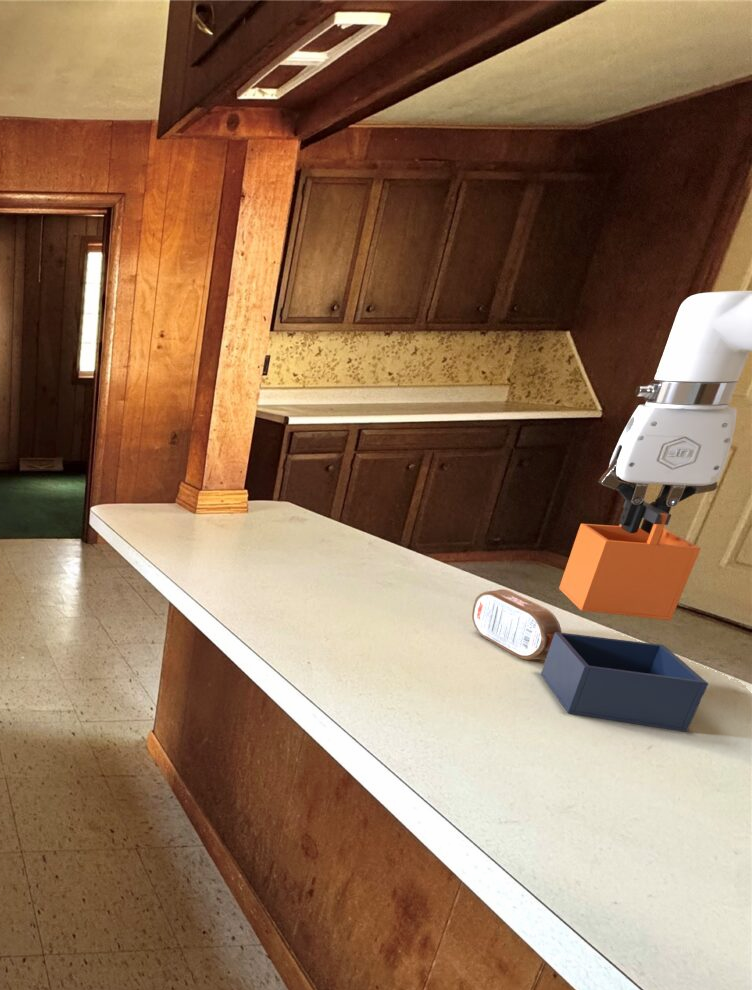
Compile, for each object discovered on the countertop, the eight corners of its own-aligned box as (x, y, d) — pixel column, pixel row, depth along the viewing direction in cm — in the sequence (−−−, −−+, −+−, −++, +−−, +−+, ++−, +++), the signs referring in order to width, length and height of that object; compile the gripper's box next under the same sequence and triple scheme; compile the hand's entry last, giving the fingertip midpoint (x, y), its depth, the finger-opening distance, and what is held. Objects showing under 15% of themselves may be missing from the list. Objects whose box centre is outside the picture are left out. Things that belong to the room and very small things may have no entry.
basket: (639, 596, 99) (677, 500, 94) (671, 621, 91) (714, 517, 85) (558, 588, 103) (589, 495, 97) (581, 611, 95) (617, 511, 89)
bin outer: (645, 689, 93) (663, 644, 90) (686, 732, 83) (708, 683, 81) (540, 674, 98) (554, 631, 95) (567, 713, 88) (584, 666, 85)
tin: (554, 668, 99) (572, 617, 96) (533, 669, 99) (550, 618, 96) (481, 627, 113) (494, 582, 110) (462, 628, 113) (475, 582, 110)
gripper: (622, 397, 86) (576, 533, 93) (792, 398, 80) (729, 544, 86) (600, 392, 92) (558, 520, 99) (756, 393, 86) (700, 529, 93)
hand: (638, 530), depth 93 cm, fingers closed on basket, 1 cm apart
